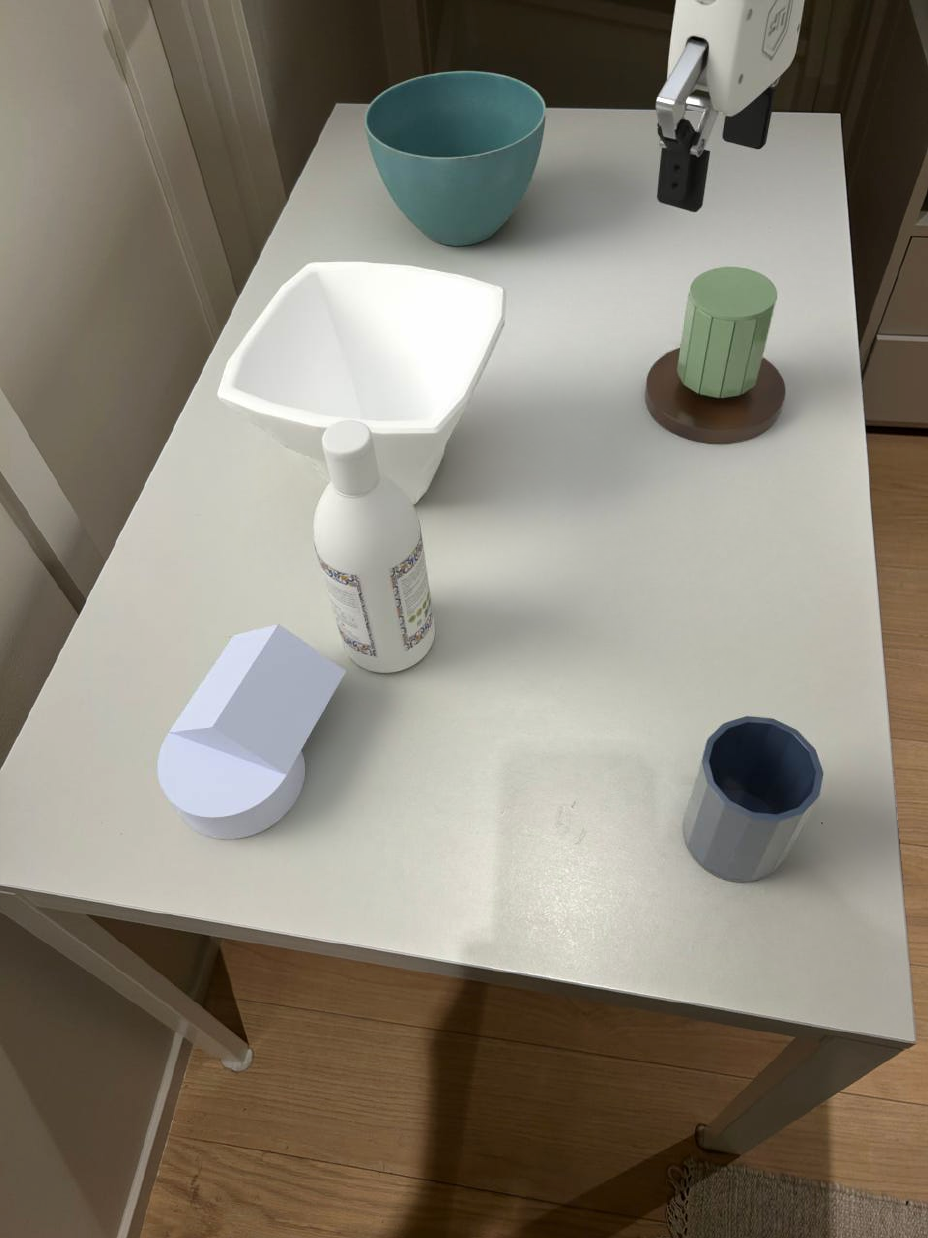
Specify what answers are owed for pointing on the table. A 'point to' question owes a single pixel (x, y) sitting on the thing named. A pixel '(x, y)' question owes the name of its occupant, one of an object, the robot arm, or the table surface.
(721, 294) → the green cup
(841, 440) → the table surface
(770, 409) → the disc
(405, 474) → the bowl
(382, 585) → the bath foam
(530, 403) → the table surface
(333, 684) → the wedge on round base
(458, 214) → the plant pot
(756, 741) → the blue cup
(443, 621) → the table surface
